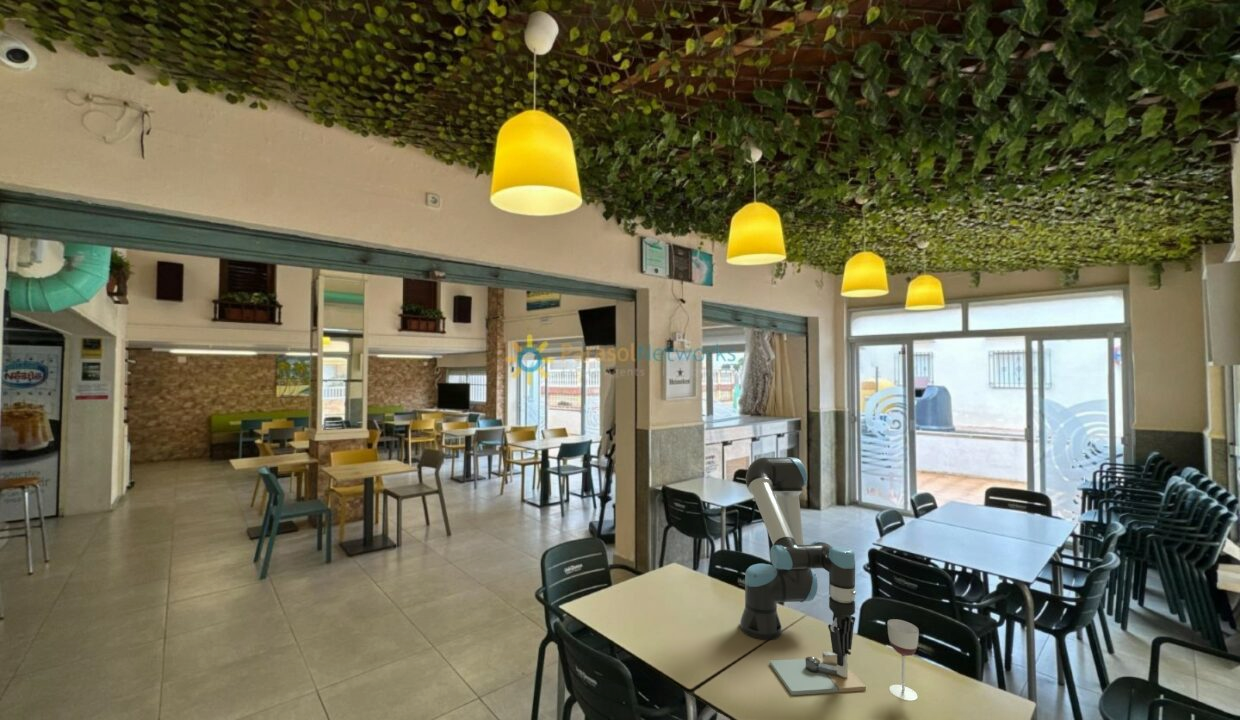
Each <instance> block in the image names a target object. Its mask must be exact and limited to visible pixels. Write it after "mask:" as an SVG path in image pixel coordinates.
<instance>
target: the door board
mask: <svg viewBox="0 0 1240 720" xmlns="http://www.w3.org/2000/svg"><path fill="white" fill-rule="evenodd" d="M816 658H817V659H818V660H819V661H820V663H823V657H816ZM823 664H824V663H823ZM769 665H770V666H771V668H772V670H773V671H774V672H775V674H776V675H777V677H778V678H779V680H781V682H782V683H783V685H784V687H785V688H786V689H787V691H788V692H789V693H790V695H791V696H801V695H816V694H831V693H847V692H861V691H867V686H866V685H865V684H864V683H863V682H862V681H861V680H860V678H859V677H858V676H856V675H855V673H853V671H852V670H851V669H850V668H848V678H846V679H843V678H841V677H837V676H832V675H828V674H824V673H820V672H818V673H813V672H810V671H808V670H807V669H806V658H795V659H794V658H793V659H792V658H791V659H777V660H774V659H773V660H769ZM832 666H836V667H837V665H832Z"/></svg>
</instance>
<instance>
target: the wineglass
mask: <svg viewBox="0 0 1240 720" xmlns="http://www.w3.org/2000/svg"><path fill="white" fill-rule="evenodd" d="M887 634H888V640H889V643H890V645H891V647H892V648H893V650H894V651H895V652H897V653H898V654H900V656H901V684H892V685H890V686H889V687H888V688H889V689H888V690H889V691H890V693H891V694H893V696H895V697H896V698H899V699H902V700H904V701H910V702H911V701H915V700H917V699H918V694H917V692H916V691H914V689H912V688H910V687H908V686H906V685H905V684H906V683H905V678H906V677H905V675H906V673H905V671H906V670H905V667H906V666H905V663H906V662H905V661H906V659H905V656H906V657H907V656H912V655H914V654H915V653H916V652H917V649H918V645H919V634H920V632H919V627H917V626H916V625H915V624H913V623H910V622H908V621H906V620H903V619H897V618H896V619H893V618H892V619H888V620H887Z"/></svg>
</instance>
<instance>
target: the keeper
mask: <svg viewBox="0 0 1240 720" xmlns="http://www.w3.org/2000/svg"><path fill="white" fill-rule="evenodd" d="M822 658H823V663H824V664H827V665H837V654H835V653H833V651H823V652H822Z"/></svg>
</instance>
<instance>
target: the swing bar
mask: <svg viewBox="0 0 1240 720" xmlns="http://www.w3.org/2000/svg"><path fill="white" fill-rule="evenodd" d="M817 658H818V657H814V656H806V658H805V659H806V669H807V670H808V671H810V672H813V673H818V672H820V673H824V674H828V675H832V676H837V677H841V678H843V679H846V678H848V669H849V664H848V662H847V677H846V678H845V677H843V676H841V675H839V674H837V667H836V666H832V665H827V664H823V663H820V661H819V660H818V659H817Z"/></svg>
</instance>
